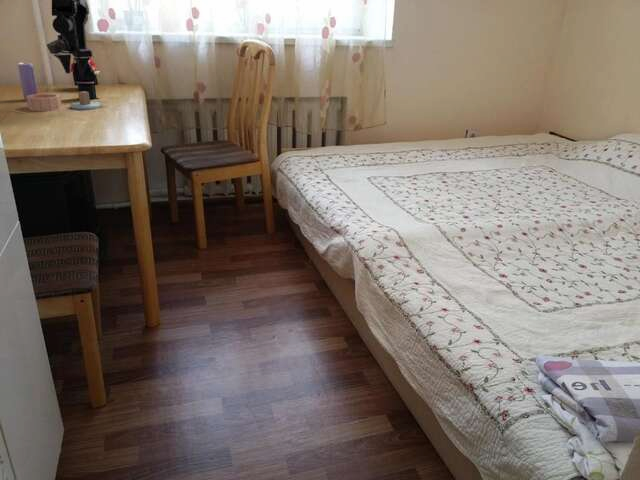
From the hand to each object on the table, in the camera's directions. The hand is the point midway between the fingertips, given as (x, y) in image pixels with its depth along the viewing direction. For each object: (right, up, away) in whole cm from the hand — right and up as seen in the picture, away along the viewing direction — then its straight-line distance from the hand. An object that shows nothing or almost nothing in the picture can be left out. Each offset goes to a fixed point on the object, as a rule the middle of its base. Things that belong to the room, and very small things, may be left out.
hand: (74, 74), depth 209 cm
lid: (+2, -11, +6) cm, 13 cm away
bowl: (-13, -13, +2) cm, 18 cm away
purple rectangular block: (-27, -5, +19) cm, 33 cm away
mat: (+2, -12, +6) cm, 13 cm away
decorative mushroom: (-16, +7, +47) cm, 50 cm away
